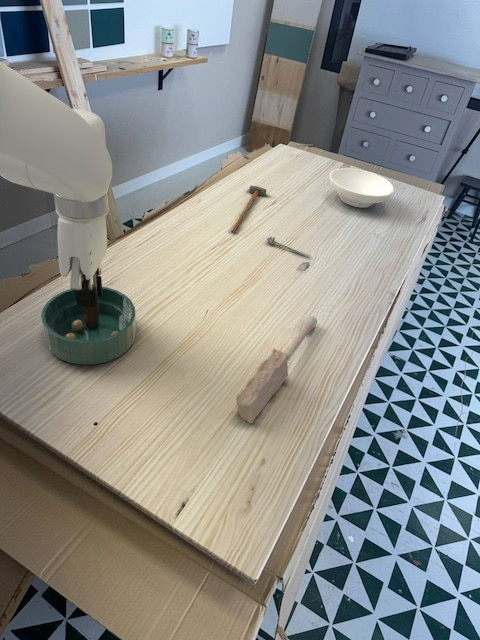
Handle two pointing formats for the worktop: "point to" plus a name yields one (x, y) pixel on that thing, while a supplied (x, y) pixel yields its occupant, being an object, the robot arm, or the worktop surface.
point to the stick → (92, 309)
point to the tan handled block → (269, 377)
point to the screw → (271, 240)
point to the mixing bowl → (90, 341)
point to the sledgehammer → (250, 202)
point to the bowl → (360, 187)
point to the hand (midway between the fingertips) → (90, 299)
